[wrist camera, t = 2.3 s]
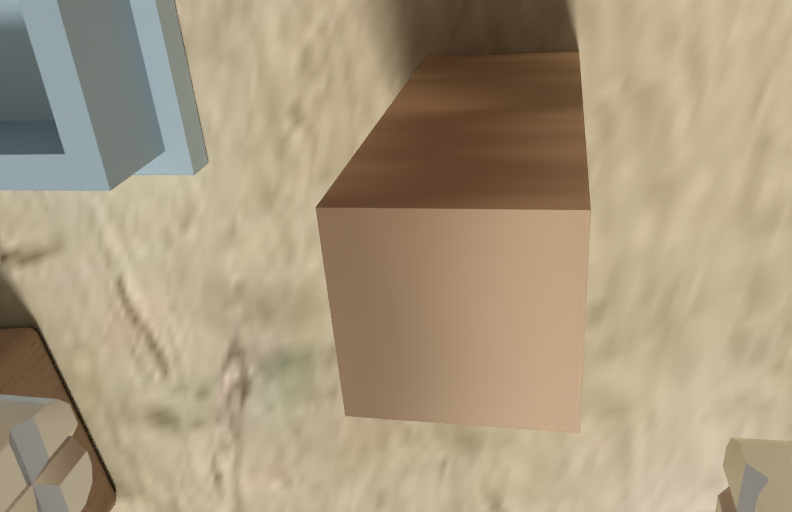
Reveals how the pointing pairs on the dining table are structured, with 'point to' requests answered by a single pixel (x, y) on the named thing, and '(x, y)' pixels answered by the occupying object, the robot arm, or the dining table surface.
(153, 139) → the cradle
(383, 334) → the wood grain brick
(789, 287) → the dining table surface
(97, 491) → the wooden block
